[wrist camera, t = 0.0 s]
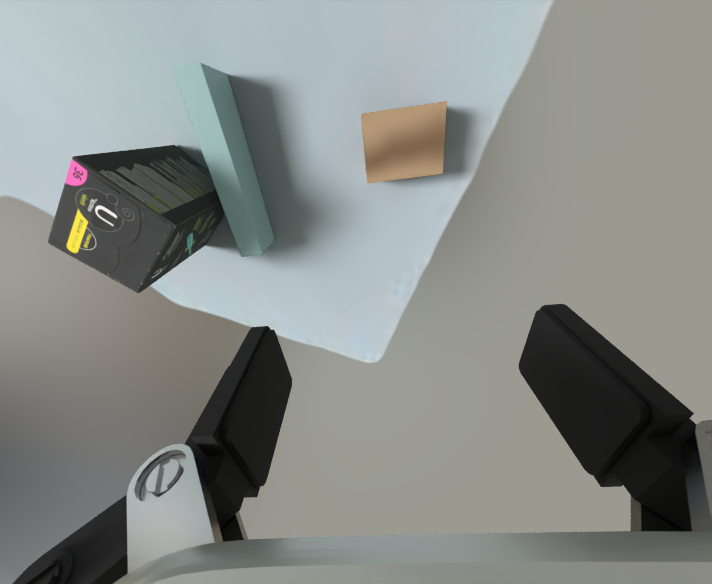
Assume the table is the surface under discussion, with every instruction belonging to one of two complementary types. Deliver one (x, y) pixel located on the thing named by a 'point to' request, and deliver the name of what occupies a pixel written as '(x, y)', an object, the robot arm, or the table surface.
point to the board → (226, 154)
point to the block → (404, 142)
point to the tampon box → (135, 213)
